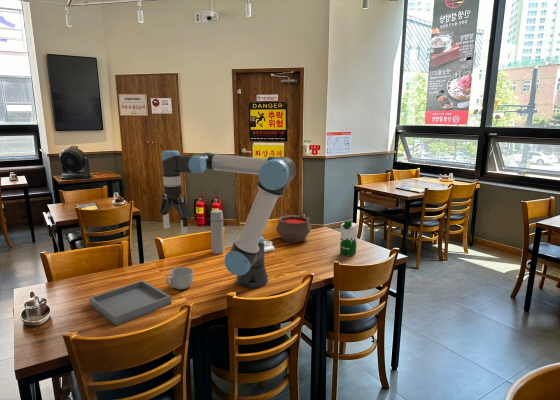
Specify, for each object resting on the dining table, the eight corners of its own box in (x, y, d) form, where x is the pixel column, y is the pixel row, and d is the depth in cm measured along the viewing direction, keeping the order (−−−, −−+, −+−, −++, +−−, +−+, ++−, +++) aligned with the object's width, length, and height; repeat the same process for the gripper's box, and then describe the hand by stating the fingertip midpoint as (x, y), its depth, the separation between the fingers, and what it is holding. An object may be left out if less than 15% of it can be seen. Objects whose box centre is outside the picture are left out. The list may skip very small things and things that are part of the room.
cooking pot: (288, 231, 264) (288, 208, 260) (318, 237, 250) (319, 214, 247) (268, 240, 244) (268, 216, 241) (299, 247, 231) (299, 221, 227)
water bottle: (221, 255, 218) (220, 213, 212) (209, 254, 219) (207, 212, 214) (227, 249, 227) (226, 209, 221) (214, 248, 228) (213, 208, 223)
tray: (171, 303, 160) (170, 296, 159) (115, 326, 143) (114, 317, 142) (143, 287, 176) (142, 280, 175) (89, 305, 159) (89, 297, 158)
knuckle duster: (252, 256, 217) (241, 249, 229) (279, 250, 226) (266, 244, 238) (252, 250, 216) (241, 243, 228) (279, 245, 226) (266, 239, 238)
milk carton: (338, 254, 220) (339, 221, 215) (344, 249, 227) (345, 217, 223) (352, 257, 215) (353, 223, 211) (358, 252, 222) (359, 219, 218)
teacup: (186, 280, 184) (185, 264, 182) (198, 287, 176) (197, 271, 175) (159, 288, 174) (158, 272, 173) (171, 296, 167) (170, 279, 165)
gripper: (196, 187, 164) (199, 233, 168) (163, 181, 179) (166, 224, 184) (182, 189, 158) (185, 237, 163) (149, 183, 174) (153, 227, 178)
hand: (175, 230), depth 173 cm, fingers open, 13 cm apart
